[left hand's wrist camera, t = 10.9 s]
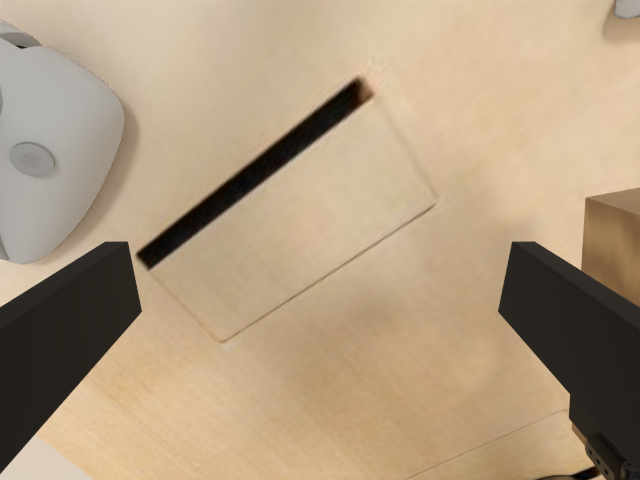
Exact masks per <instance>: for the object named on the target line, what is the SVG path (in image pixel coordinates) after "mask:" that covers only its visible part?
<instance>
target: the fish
mask: <svg viewBox="0 0 640 480" xmlns="http://www.w3.org/2000/svg"><path fill="white" fill-rule="evenodd" d="M614 16H616V17H619V18H622V19H630V18H635V17H638V16H640V0H617V1H616V4H615V9H614Z"/></svg>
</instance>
